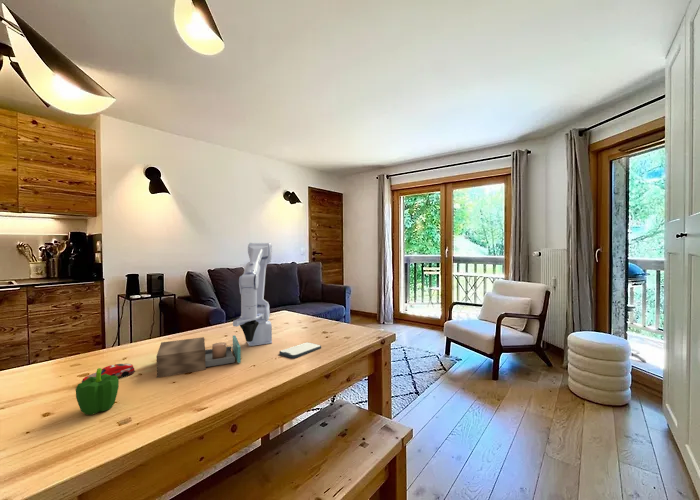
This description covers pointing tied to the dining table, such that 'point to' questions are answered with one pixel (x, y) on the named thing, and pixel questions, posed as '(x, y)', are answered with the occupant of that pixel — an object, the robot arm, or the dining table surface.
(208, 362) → the drawer
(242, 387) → the dining table surface
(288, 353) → the phone case
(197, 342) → the spice box
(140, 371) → the dining table surface
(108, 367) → the race car
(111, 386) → the bell pepper
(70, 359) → the dining table surface
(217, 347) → the brown round cylinder
